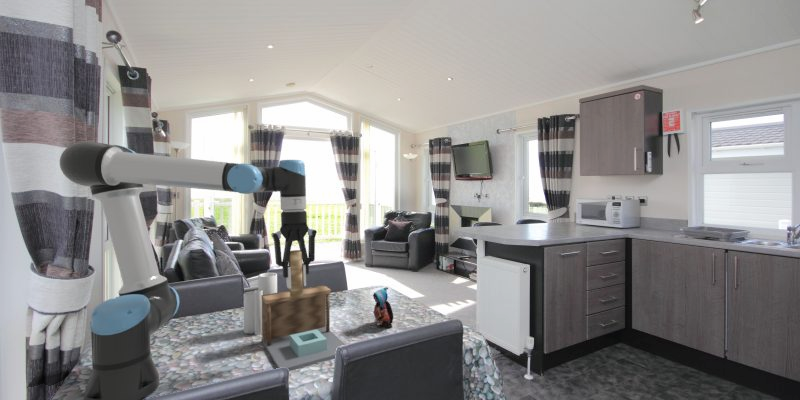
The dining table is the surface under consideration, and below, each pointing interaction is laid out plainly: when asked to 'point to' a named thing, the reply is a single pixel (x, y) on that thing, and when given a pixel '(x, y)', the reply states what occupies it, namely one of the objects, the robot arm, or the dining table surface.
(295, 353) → the socket board
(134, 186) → the robot arm
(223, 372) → the dining table surface
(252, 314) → the vase
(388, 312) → the figurine
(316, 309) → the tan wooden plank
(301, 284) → the oak peg
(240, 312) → the dining table surface
